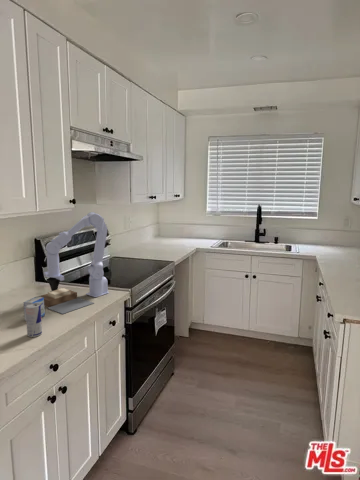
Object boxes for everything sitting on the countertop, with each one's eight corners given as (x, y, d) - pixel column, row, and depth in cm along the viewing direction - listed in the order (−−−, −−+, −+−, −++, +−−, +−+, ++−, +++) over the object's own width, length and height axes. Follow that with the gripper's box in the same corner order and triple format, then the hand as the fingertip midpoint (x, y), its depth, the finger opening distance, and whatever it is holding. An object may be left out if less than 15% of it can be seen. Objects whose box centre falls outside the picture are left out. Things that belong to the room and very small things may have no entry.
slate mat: (78, 298, 172) (78, 297, 172) (94, 303, 165) (94, 302, 165) (47, 308, 158) (47, 307, 158) (62, 314, 151) (62, 313, 151)
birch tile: (63, 291, 172) (63, 287, 171) (70, 293, 168) (70, 290, 168) (47, 296, 164) (47, 292, 164) (55, 298, 161) (54, 294, 161)
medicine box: (33, 322, 142) (31, 303, 140) (24, 320, 143) (23, 301, 142) (45, 315, 149) (44, 297, 148) (36, 314, 151) (35, 296, 149)
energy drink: (45, 332, 132) (43, 303, 130) (36, 338, 127) (34, 308, 125) (33, 330, 134) (31, 302, 132) (24, 336, 129) (22, 307, 127)
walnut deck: (65, 294, 177) (65, 288, 177) (77, 298, 171) (76, 292, 171) (37, 303, 164) (37, 296, 164) (49, 307, 158) (49, 300, 158)
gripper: (37, 265, 167) (39, 290, 169) (54, 269, 159) (56, 296, 161) (50, 262, 173) (51, 287, 175) (67, 266, 165) (68, 293, 167)
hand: (54, 291), depth 168 cm, fingers closed
